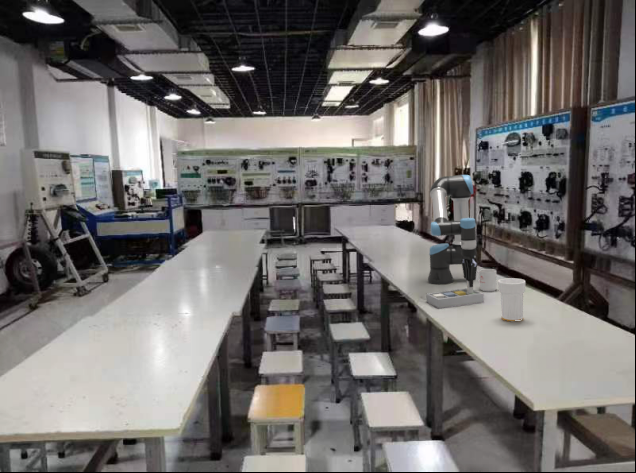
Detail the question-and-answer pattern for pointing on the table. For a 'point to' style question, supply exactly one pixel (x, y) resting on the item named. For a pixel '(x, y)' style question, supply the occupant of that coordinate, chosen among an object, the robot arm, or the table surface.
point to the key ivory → (438, 296)
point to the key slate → (449, 294)
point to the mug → (487, 279)
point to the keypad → (455, 299)
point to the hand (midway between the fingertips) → (470, 292)
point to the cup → (511, 298)
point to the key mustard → (460, 293)
